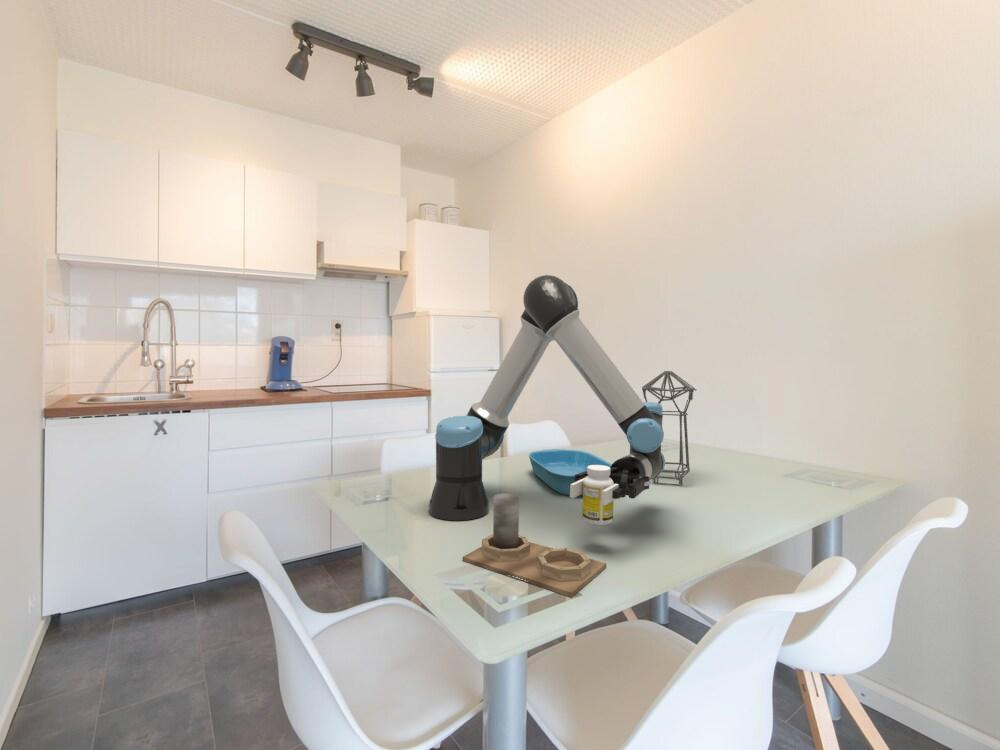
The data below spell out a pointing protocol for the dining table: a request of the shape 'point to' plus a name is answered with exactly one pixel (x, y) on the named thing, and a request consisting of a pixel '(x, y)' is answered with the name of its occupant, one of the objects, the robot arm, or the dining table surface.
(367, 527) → the dining table surface
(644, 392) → the geometric lantern
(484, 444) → the robot arm
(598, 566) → the socket board
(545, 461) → the casserole dish
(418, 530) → the dining table surface
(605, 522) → the pill bottle
